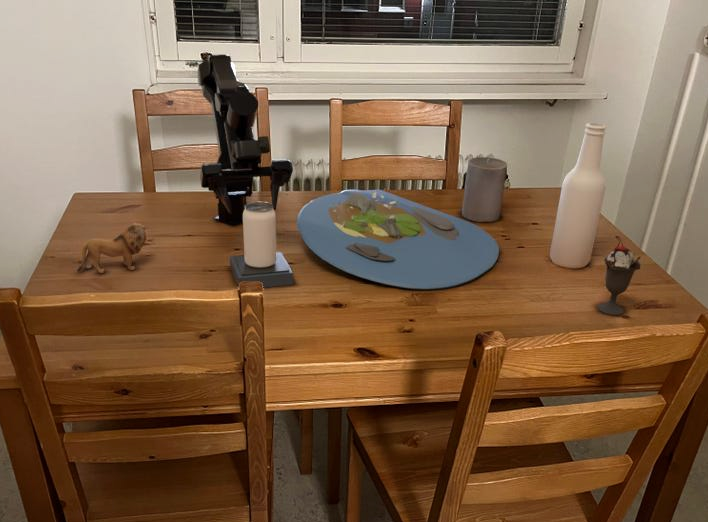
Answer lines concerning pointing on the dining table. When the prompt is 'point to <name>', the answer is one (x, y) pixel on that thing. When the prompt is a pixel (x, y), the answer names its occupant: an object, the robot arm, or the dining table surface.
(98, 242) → the lion figurine
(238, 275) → the riser
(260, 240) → the can
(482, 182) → the pillar candle
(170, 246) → the dining table surface
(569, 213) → the alcohol
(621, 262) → the sundae
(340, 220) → the serving platter
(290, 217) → the dining table surface
